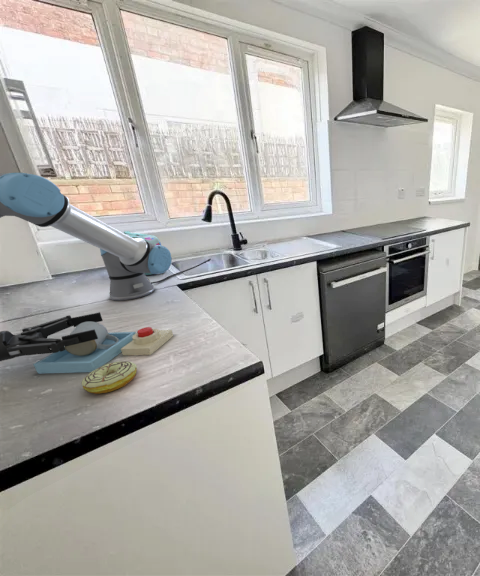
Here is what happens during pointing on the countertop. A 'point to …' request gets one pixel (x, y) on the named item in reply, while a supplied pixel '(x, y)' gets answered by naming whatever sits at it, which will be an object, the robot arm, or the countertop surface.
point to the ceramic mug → (91, 345)
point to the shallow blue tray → (83, 357)
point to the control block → (147, 343)
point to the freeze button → (145, 332)
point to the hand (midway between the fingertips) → (99, 324)
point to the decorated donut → (109, 377)
